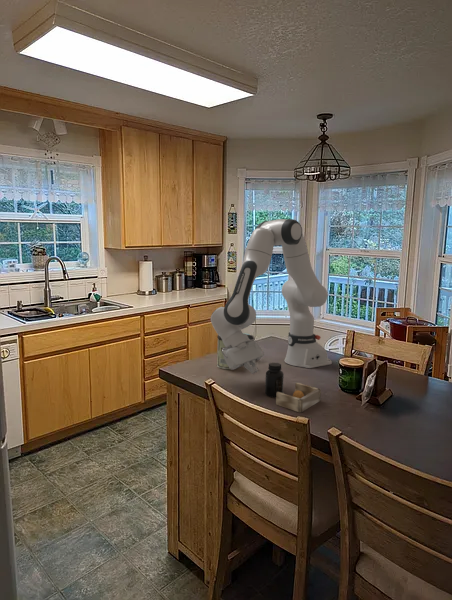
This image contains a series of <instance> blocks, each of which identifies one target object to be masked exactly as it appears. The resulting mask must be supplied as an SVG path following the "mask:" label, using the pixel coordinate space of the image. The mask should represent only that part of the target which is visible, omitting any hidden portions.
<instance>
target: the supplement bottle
mask: <svg viewBox="0 0 452 600" xmlns="http://www.w3.org/2000/svg"><path fill="white" fill-rule="evenodd" d="M264 381H265V387H264V393H265V395H266V396H267V397H270V398H276V393H277V392H281V393H284V372H283V371H282V364H281V363H279V362H270V363H268V370H266V372H265V380H264Z"/></svg>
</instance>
